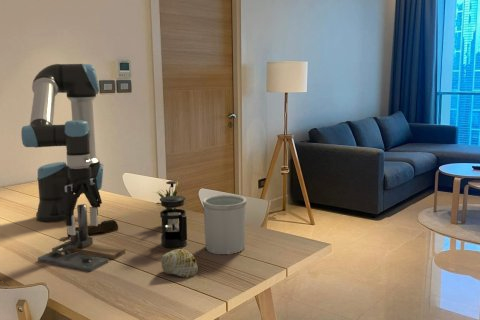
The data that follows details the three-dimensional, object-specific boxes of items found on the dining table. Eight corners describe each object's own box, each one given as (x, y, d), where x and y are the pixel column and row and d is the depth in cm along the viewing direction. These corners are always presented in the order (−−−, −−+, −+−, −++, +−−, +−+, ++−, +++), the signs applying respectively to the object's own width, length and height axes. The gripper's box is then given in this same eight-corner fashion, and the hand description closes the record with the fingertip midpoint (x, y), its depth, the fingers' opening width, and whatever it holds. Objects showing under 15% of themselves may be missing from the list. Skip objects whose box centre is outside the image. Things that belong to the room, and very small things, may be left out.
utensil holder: (237, 257, 160) (237, 206, 157) (196, 252, 165) (195, 202, 162) (252, 243, 174) (252, 196, 171) (214, 239, 179) (213, 192, 176)
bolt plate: (56, 253, 166) (56, 249, 166) (108, 262, 157) (107, 258, 157) (37, 261, 159) (37, 257, 158) (91, 271, 150) (90, 267, 149)
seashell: (205, 270, 148) (192, 246, 143) (180, 291, 144) (166, 267, 140) (189, 259, 156) (176, 235, 152) (165, 278, 152) (151, 255, 148)
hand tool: (68, 239, 180) (67, 227, 179) (67, 236, 184) (66, 224, 183) (119, 232, 188) (119, 221, 188) (117, 229, 192) (116, 218, 191)
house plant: (156, 233, 186) (155, 192, 183) (146, 224, 198) (144, 185, 195) (191, 228, 192) (190, 188, 189) (179, 219, 204) (178, 181, 201)
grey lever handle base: (75, 244, 174) (74, 228, 173) (125, 253, 165) (124, 236, 164) (45, 257, 162) (44, 240, 161) (98, 267, 153) (97, 249, 152)
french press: (154, 244, 174) (151, 181, 170) (174, 238, 180) (173, 177, 177) (174, 252, 166) (172, 186, 162) (195, 245, 172) (194, 182, 169)
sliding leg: (85, 242, 171) (83, 203, 168) (92, 243, 170) (90, 204, 167) (58, 255, 159) (55, 212, 157) (65, 256, 158) (62, 213, 155)
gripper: (62, 173, 152) (67, 241, 155) (110, 161, 172) (113, 222, 176) (44, 171, 155) (49, 238, 158) (93, 160, 175) (97, 219, 179)
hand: (83, 229), depth 167 cm, fingers open, 10 cm apart
